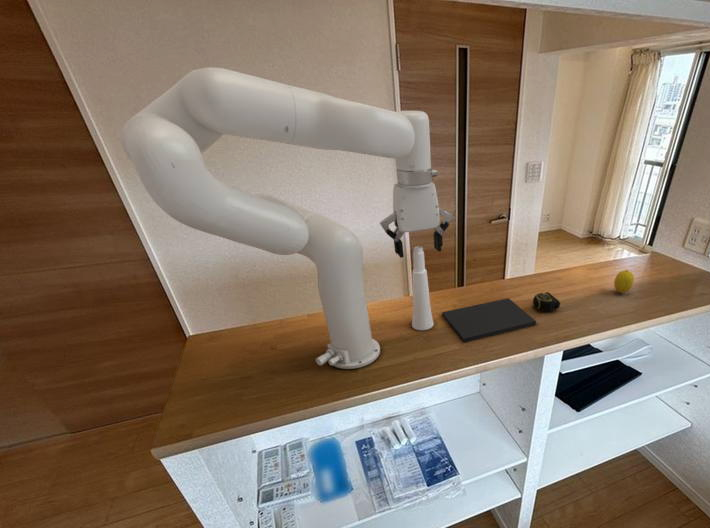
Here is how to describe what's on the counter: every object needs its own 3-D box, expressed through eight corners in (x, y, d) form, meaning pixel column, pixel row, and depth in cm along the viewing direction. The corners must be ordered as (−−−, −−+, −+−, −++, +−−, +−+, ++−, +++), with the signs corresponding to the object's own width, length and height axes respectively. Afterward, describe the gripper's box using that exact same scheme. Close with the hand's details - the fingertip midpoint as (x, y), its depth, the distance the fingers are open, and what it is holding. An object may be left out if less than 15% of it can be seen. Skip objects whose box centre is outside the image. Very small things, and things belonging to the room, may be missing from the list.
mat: (463, 342, 95) (463, 338, 95) (442, 315, 106) (441, 312, 106) (535, 324, 103) (536, 321, 102) (508, 301, 114) (508, 297, 113)
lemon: (633, 294, 118) (640, 270, 114) (622, 298, 116) (629, 275, 111) (618, 287, 122) (625, 265, 118) (607, 292, 120) (614, 268, 115)
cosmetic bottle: (436, 321, 104) (434, 244, 91) (428, 332, 99) (424, 253, 87) (417, 317, 105) (411, 242, 93) (408, 328, 101) (401, 250, 88)
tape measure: (559, 311, 109) (562, 300, 107) (539, 315, 107) (540, 303, 105) (548, 301, 114) (550, 290, 112) (528, 304, 112) (529, 293, 110)
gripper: (444, 171, 87) (446, 242, 96) (371, 177, 81) (380, 252, 91) (457, 177, 81) (457, 252, 91) (379, 184, 75) (388, 263, 85)
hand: (419, 252), depth 91 cm, fingers open, 9 cm apart
